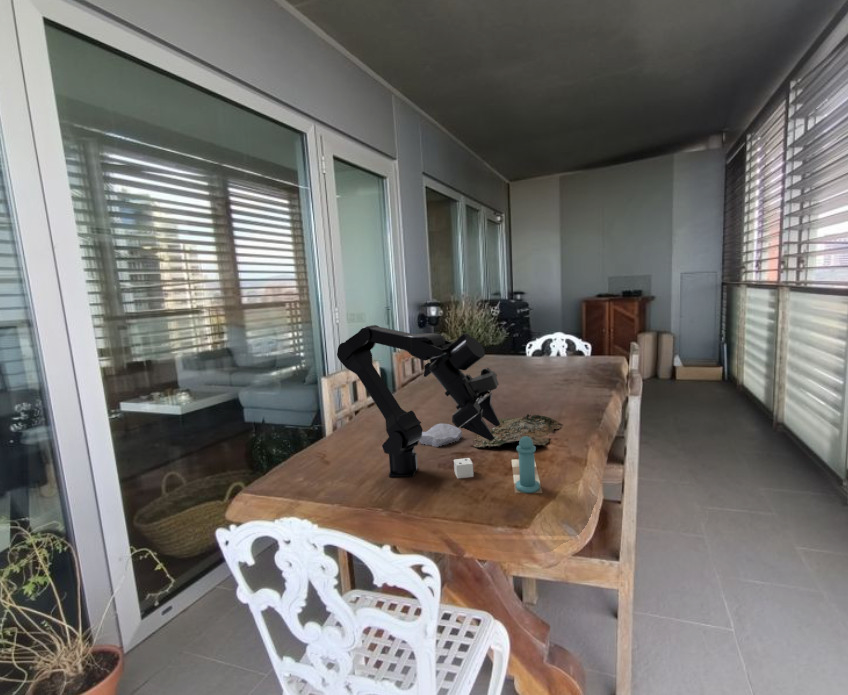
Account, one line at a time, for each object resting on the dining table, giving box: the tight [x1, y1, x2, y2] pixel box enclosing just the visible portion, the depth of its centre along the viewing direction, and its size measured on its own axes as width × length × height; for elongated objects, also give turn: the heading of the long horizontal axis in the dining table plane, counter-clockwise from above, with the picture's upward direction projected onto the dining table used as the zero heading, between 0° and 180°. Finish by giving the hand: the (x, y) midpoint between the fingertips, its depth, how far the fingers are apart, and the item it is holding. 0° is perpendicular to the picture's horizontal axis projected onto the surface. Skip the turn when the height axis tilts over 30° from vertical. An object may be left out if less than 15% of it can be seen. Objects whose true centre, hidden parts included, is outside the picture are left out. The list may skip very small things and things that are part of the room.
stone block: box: [419, 423, 463, 448], centre depth 144 cm, size 12×5×10 cm
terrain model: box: [472, 413, 563, 449], centre depth 145 cm, size 31×25×5 cm
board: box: [511, 458, 543, 494], centre depth 113 cm, size 6×20×1 cm, turn 172°
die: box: [453, 457, 474, 479], centre depth 116 cm, size 4×4×4 cm
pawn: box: [516, 436, 540, 494], centre depth 105 cm, size 5×5×12 cm
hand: (495, 432), depth 109 cm, fingers open, 9 cm apart
